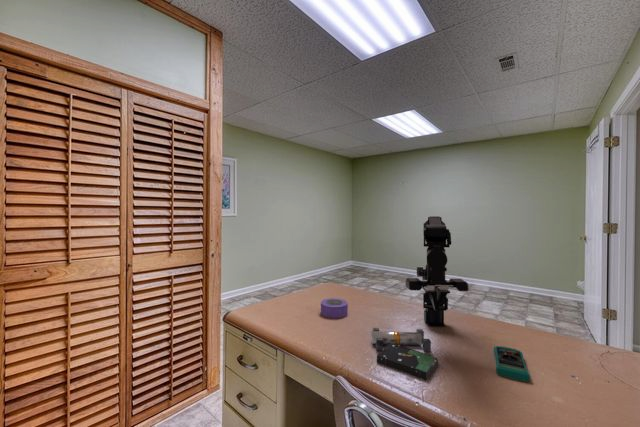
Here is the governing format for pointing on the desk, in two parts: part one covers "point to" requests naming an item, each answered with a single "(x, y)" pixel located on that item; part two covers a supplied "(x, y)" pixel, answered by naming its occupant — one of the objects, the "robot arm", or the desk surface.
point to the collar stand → (425, 341)
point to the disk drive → (408, 361)
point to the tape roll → (334, 308)
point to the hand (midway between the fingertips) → (435, 310)
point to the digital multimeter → (511, 363)
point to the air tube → (397, 337)
